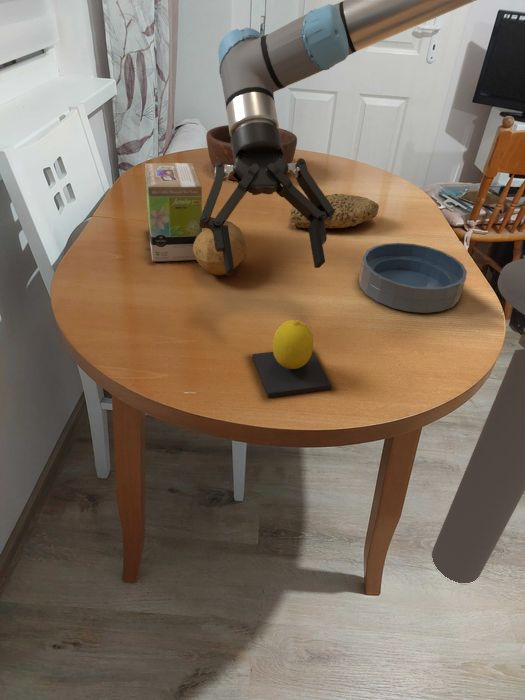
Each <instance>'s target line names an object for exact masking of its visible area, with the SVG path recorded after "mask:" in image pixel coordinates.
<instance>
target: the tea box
mask: <svg viewBox="0 0 525 700" xmlns="http://www.w3.org/2000/svg"><path fill="white" fill-rule="evenodd" d="M144 182H145V183H144V184H145V201H146V213H147V226H148V236H149V243H150V245H149V246H150V253H151V261H152V262H179V261H180V262H181V261H197V259H196V257H195V255H194V253H193V244H194V242H195V240H196V238H197V236H198V235H199V234H200V233H201V232H202V231H203V228H201V227H200V226H199V222H200V217H201V214H202V212H203V190H202V189H203V187H202V184H201V181H200V178H199V176H198V173H197V171H196V168H195V165H194V163H193V162H152V163H151V162H150V163H149V162H146V163H144Z"/></svg>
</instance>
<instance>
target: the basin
mask: <svg viewBox="0 0 525 700" xmlns="http://www.w3.org/2000/svg"><path fill="white" fill-rule="evenodd" d="M467 273H468V271H467V269H466V267H465V266H464V263H462V262H461V261H459V260H458V259H457V258H456V257H454V256H452V255H451V254H449V253H446V252H445V251H443V250H441V249H437V248H433V247H430V246H428V245H421V244H416V243H406V242H389V243H381V244H378V245H375V246H372V247H370V248H369V249H367V250H366V251H365V252H364V254H363V256H362V258H361V263H360V270H359V275H358V283H359V287H360V289H361V290H362V291H363V292H364V293H365V295H367V296H368V297H369V298H371V299H372V300H374V301H375V302H377V303H379V304H381V305H384V306H387V307H388V308H392V309H396V310H399V311H400V310H401V311H405V312H410V313H422V314H423V313H424V314H427V313H439V312H443V311H446V310H448V309H451V308H453V307H454V306H455V305H456V304H458V303H459V302H460V298H461V295H462V293H463V289H464V286H465V283H466V279H467Z"/></svg>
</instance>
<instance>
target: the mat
mask: <svg viewBox="0 0 525 700" xmlns="http://www.w3.org/2000/svg"><path fill="white" fill-rule="evenodd" d="M251 358H252V360H253V363H254V365H255V368H256V370H257V374H258V376H259V379H260V381H261V383H262V386H263V388H264V390H265V393H266V396H267V398H269V399H270V398H276V397H283V396H290V395H297V394H306V393H312V392H320V391H327V390H331V389H332V387H333V386H332V383H331V381H330V379H329V377H328V375H327V374H326V372H325V370H324V368H323V367H322V364H321V363H320V361H319V360H318V358H317V356H316V354H315V353H314V351H313V352H312V355H311V357H310V359H309V361H308V362H307V363H306V364H305V365H304V366H302V367H300V368H297V369H288V368H285V367H283V366H282V365H280V364H279V363H278V362H277V360H276V358H275V356H274V353H273V351H269V352H268V351H267V352H260V353H259V352H257V353H253V354H252V357H251Z"/></svg>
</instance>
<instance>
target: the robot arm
mask: <svg viewBox="0 0 525 700" xmlns="http://www.w3.org/2000/svg"><path fill="white" fill-rule="evenodd" d="M476 1H477V0H342V1H340V2H338V3H335V4H331V3H330V4H326V5H322V6H321V7H319V8H315V9H313V10H310V11H308V12H307V13H305V14H304V15H302V16H299V17H298V18H296V19H294V20H292V21H290V22H288V23H287V24H285V25H283V26H281V27H279V28H277V29H276V30H273V31H272V32H270V33H267V34H265V35H262V34H261V32H260V31H258V30H257V29H254V28H251V27H244V28H243V29H239V28H235V29H232V30H230V31H229V32H227V33H226V34H225V35H224V36H223V37H222V39H221V40H220V42H219V44H218V52H217V53H218V62H219V66H218V72H219V76H220V80H221V85H222V92H223V97H224V103H225V111H226V117H227V125H229V133H230V136H231V146H232V153H233V160H234V165H224V163H223V162H222V161H217V162H216V166H215V169H214V171H213V183H212V184H211V185H212V186H211V188H210V190H209V193H208V196H207V199H206V201H205V204H204V207H203V208H202V214H201V217H200V222H199V226H200V227H201V228H202V230H205V229H206V228H208V229H210V230H211V231H212V233H213V236H214V243H215V249H216V251H217V252H223V257H224V263H225V270H226V274H225V275H226V276H232V274H233V273H234V270H235V268H234V264H233V258H232V251H231V244H230V237H229V230H228V225H224V223H225V222H226V221H228V219H229V218H230V216H231V215H232V213H233V212H234V210H235V209H236V208H237V206H238V204H239V203H240V202H241V200H242V199H243V198H244V197H245V195H246V194H247V192H248V193H249V194H252V196H258V195H262V194H264V195H273V194H274V193H275V194H276V195H278V196H279V197H281V198H284V199H285V200H286V201H287V202H288V203H289V204H290V205H291V207H292V206H294V207H295V208H296V209H297V210H298V211H299V212H300V213H301V214H302V215H303V216H304V217H305V218H306V219H307V220H309V221H310V222H311V224H310V225H309V226H308V228H307V230H308V237H309V242H310V248H311V254H312V260H313V264H314V269H319V268H321V266H323V265H324V264H325V263H326V257H325V253H324V251H325V250H324V247H323V246H324V245H325V243H326V242H327V239H328V237H327V231H326V228H325V224H324V222H325V221H328V220H329V219H330V218H331V217H332V215H333V214H334V213H335V210H334V208H333V207H332V205H331V204H330V202H329V201H328V200H327V198H326V197H325V196H326V195H325V194H324V192H323V191H322V189H321V188H320V186H319V184H317V182H316V181H315V179H314V178H313V176H312V175H311V173H310V172H309V170H308V166H307V163H306V160H305V159H304V158H302V157H301V158H298V160H297V161H295V162H292V163H288V164H287V163H286V161H285V160H284V157H283V149H282V143H281V137H280V132H279V130H278V128H280V127H279V126H280V125H279V120H278V119H279V118H278V113H277V109H276V102H275V96H274V93H275V92H277V91H279V90H283V89H285V88H286V87H288V86H291V85H292V84H293V85H294V84H295V83H298V82H300V81H303V80H305V79H307V78H310V77H311V76H313V75H316V74H318V73H320V72H323V71H328V70H330V69H332V68H333V67H335V66H336V65H338V64H339V63H342V62H343V61H345V60H346V59H347V58H348V56H350V55H353V54H354V53H356V52H359V51H362V50H363V49H365V48H368V47H370V46H372V45H375V44H377V43H380V42H382V41H385V40H386V39H387V40H388V39H389V38H391V37H395V36H397V35H399V34H401V33H403V32H406V31H407V30H410V29H413V28H416V27H417V26H420V25H422V24H424V23H427V22H429V21H431V20H434V19H436V18H438V17H440V16H443V15H445V14H447V13H450V12H452V11H455V10H457V9H459V8H462V7H464V6H466V5H469V4H472V3H473V2H476ZM232 174H233V176H234V178H235V179H236V180H237V181H236V182H238V184H237V186H236V188H235V189H234V191H232V194H231V195H230V196H229V198H228V199H227V200H226V202H225V203H224V204H223V206H222V208H221V209H220V210H219V212H218V213H217V215H216V216H215V217H212V215H213V212H214V208H215V206H216V203H217V201H218V198H219V195H220V192H221V190H222V186H223V183H224V182H225V181H228V180H229V179H228V177H229V175H232ZM287 174H290V175H291V176H292V179H295V180H296V183H297V184H298V185H299V187H300V190H302V191H303V193H304V194H305V195H304V194H303V193H302V192H301V191H300V190H299V189H298V188H297V187H296V186H295V185H294V184H293V181H292V180H291V179H290V178H289V177H287ZM308 199H309V200H308Z"/></svg>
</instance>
